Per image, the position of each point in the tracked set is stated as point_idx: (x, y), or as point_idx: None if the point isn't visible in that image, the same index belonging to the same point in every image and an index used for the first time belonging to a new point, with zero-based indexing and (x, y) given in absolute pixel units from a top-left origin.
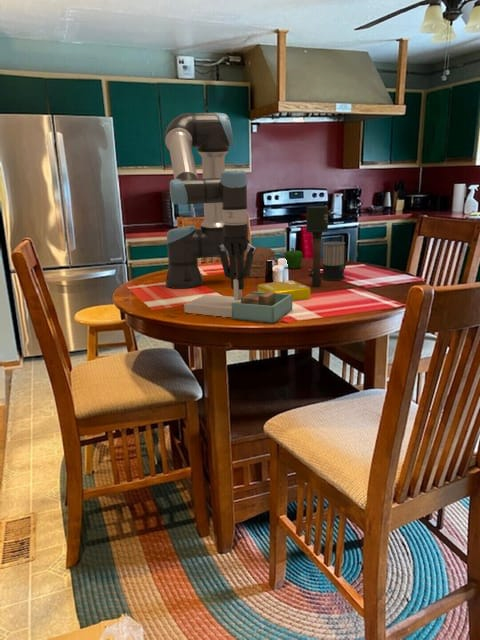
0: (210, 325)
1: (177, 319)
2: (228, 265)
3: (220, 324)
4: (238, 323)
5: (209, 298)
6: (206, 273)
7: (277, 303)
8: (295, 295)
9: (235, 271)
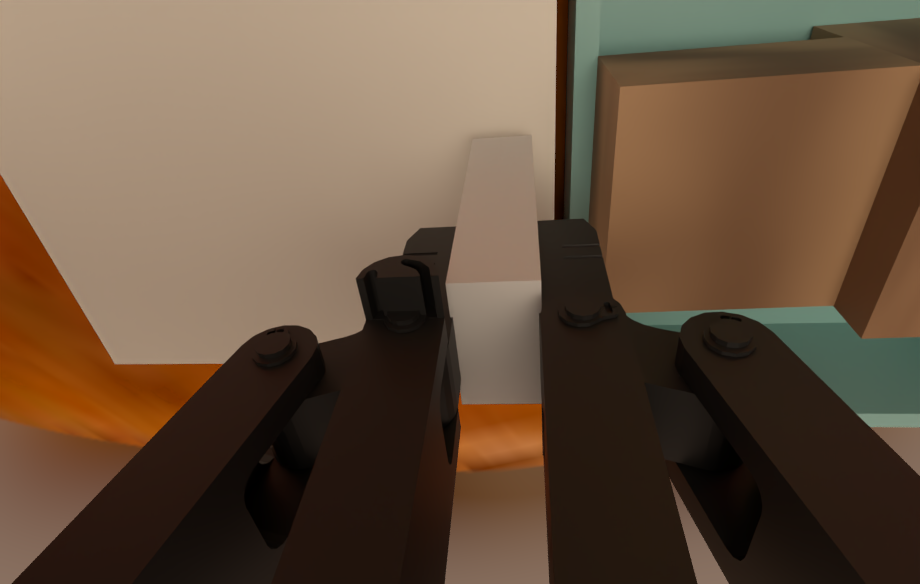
0: (494, 452)
1: None
2: (201, 571)
3: (541, 428)
4: None
5: (96, 122)
6: None
7: None
8: None
9: (438, 448)
